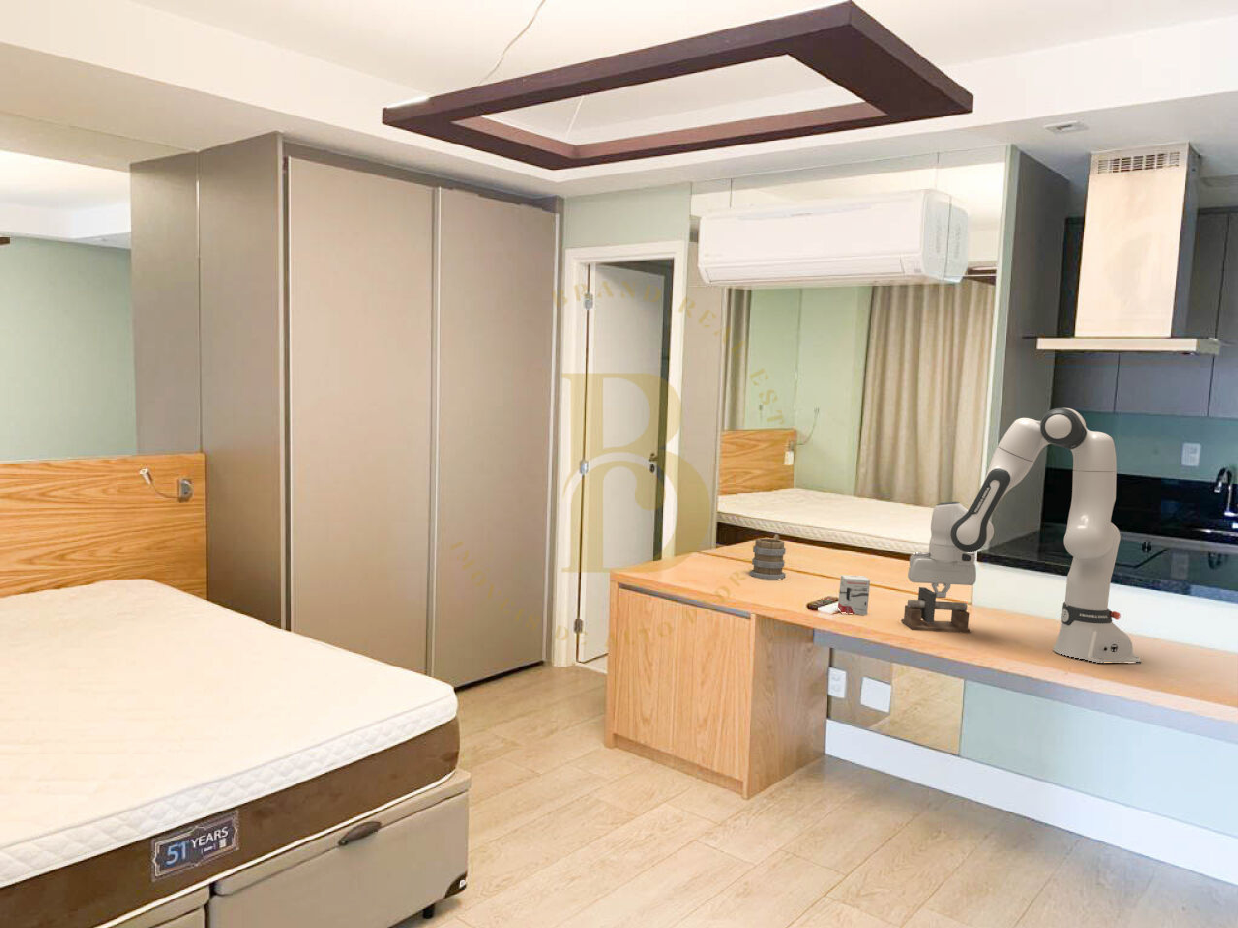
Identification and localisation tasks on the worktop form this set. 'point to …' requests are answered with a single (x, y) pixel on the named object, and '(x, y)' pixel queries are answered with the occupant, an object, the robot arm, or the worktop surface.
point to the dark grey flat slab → (927, 604)
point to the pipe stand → (915, 623)
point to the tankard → (768, 559)
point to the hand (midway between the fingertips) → (939, 597)
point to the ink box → (854, 594)
